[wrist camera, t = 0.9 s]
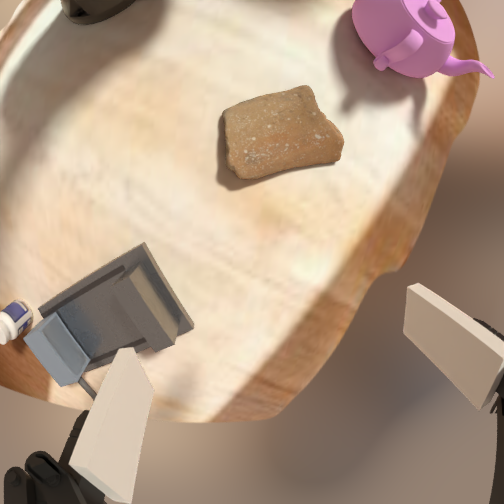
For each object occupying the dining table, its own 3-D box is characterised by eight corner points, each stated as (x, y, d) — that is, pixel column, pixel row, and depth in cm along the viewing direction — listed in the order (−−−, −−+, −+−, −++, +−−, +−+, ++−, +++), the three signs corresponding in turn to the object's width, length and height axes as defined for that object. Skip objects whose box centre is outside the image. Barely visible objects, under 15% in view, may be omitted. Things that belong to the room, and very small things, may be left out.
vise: (42, 304, 36) (19, 325, 29) (144, 241, 35) (126, 257, 28) (87, 367, 40) (72, 393, 33) (194, 323, 39) (189, 353, 32)
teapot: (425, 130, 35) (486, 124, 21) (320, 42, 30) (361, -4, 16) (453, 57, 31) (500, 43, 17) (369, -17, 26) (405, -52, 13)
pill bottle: (11, 298, 35) (-16, 319, 26) (27, 297, 35) (0, 319, 27) (20, 323, 36) (-4, 346, 28) (37, 323, 37) (12, 349, 28)
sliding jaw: (40, 321, 35) (23, 338, 29) (55, 311, 34) (37, 329, 29) (99, 395, 40) (90, 417, 34) (117, 390, 40) (108, 413, 34)
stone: (339, 160, 35) (349, 159, 32) (230, 184, 35) (231, 185, 32) (320, 87, 32) (329, 81, 29) (210, 105, 32) (209, 99, 28)
